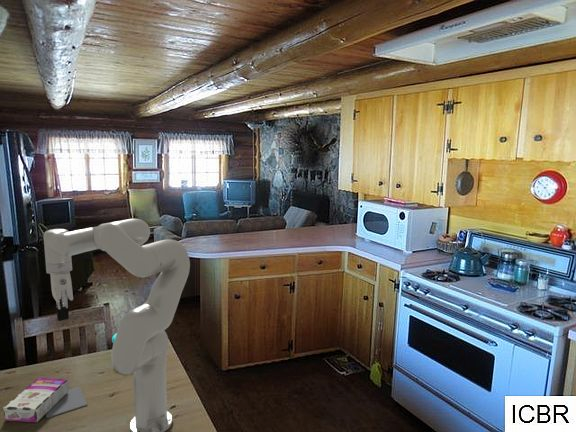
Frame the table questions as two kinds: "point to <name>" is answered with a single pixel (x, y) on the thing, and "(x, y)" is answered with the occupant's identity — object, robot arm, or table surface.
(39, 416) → the candy bar box
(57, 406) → the rubber mat
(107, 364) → the table surface
